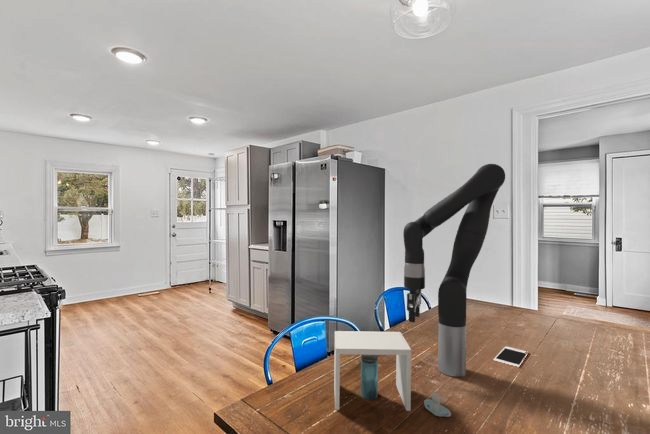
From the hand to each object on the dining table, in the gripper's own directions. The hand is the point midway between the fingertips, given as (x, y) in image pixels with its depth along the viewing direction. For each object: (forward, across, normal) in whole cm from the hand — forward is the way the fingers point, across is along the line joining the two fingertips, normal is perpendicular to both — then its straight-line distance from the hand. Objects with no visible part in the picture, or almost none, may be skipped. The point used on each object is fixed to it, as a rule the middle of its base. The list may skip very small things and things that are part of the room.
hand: (414, 319), depth 120 cm
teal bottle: (+18, -25, +9) cm, 33 cm away
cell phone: (+17, +27, -33) cm, 46 cm away
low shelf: (+18, -26, +8) cm, 33 cm away
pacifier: (+19, -25, -12) cm, 33 cm away
